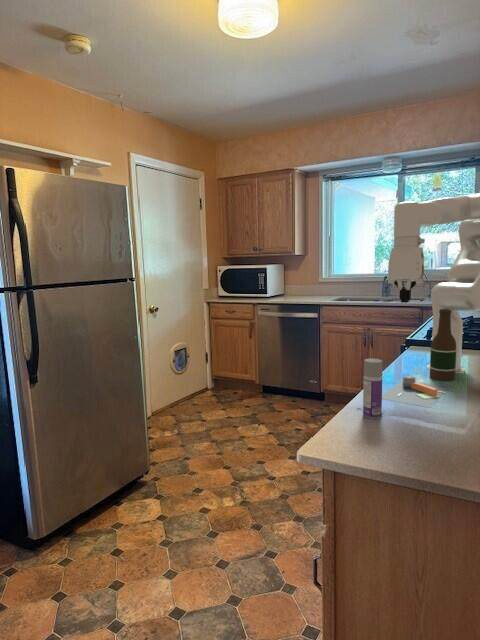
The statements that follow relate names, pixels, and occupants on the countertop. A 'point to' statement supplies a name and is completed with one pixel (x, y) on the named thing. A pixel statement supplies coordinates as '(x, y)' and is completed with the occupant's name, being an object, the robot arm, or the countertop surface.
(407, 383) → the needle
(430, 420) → the countertop surface
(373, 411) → the container
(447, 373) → the beer bottle
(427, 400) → the tuner board
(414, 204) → the robot arm
